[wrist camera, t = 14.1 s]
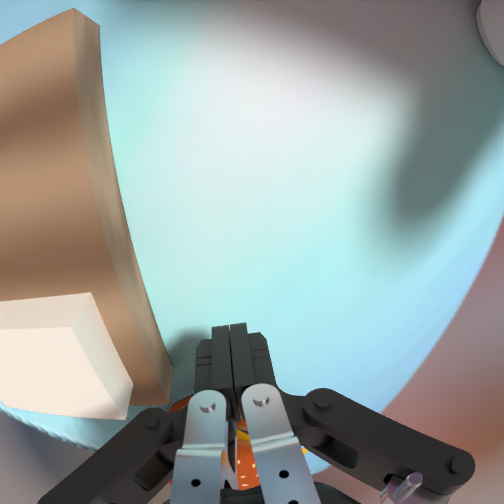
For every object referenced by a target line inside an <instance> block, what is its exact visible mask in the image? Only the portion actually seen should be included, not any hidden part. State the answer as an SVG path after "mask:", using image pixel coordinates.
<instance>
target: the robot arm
mask: <svg viewBox="0 0 504 504" xmlns="http://www.w3.org/2000/svg"><path fill="white" fill-rule="evenodd" d="M240 411H241V413H240ZM241 415H242V419H243V421H246V424H247V428H248V433H249V437H250V442H251V447H252V451H253V455H254V460H255V464H256V468H257V472H258V476H259V481H260V485H258V486H255V487H252V488H250V489H247V490H239V485H238V479H237V436H236V434H237V431H236V422H241ZM301 446H304V447H305V448H306V449H307V450H308V451H310V452H312V453H313V454H315V455H316V456H318V457H320V458H321V459H323V460H325V461H326V462H328V463H330V464H331V465H333V466H335V467H336V468H338V469H340V470H342V471H343V472H345V473H347V474H349V475H350V476H352V477H354V478H356V479H358V480H360V481H362V482H363V483H365V484H367V485H369V486H371V487H373V488H375V489H377V490H379V491H381V494H380V504H447V503H448V501H449V499H450V498H451V496H452V494H453V493H454V492H455V491H456V490H458V489H459V488H460V487H461V486H463V485H464V484H465V483H466V482H467V481H468V480H470V478H471V477H472V476H473V473H474V471H475V461H474V459H473V457H472V455H470V454H469V453H468V452H466V451H464V450H462V449H459V448H456V447H454V446H451V445H449V444H446V443H444V442H442V441H439V440H437V439H434V438H432V437H429V436H427V435H424V434H422V433H420V432H418V431H416V430H413V429H411V428H409V427H407V426H405V425H402V424H400V423H398V422H396V421H394V420H392V419H390V418H387V417H385V416H383V415H381V414H379V413H377V412H375V411H373V410H371V409H369V408H367V407H365V406H363V405H361V404H359V403H357V402H355V401H353V400H351V399H349V398H347V397H345V396H343V395H341V394H339V393H337V392H336V391H334V390H331V389H327V388H319V389H315V390H313V391H311V392H309V393H308V394H307V395H306V396H295V395H290V394H287V393H285V392H283V391H282V390H280V389H279V387H278V386H277V384H276V381H275V376H274V372H273V367H272V363H271V358H270V354H269V350H268V345H267V340H266V338H265V337H264V336H263V335H262V334H261V333H260V332H257V333H251V334H248V333H247V326H246V323H239V324H231V325H230V329H229V325H224V326H216V327H212V339H205V340H201V342H200V343H199V345H198V347H197V349H196V370H195V393H194V396H193V397H192V398H191V399H190V401H189V404H188V405H187V406H186V407H184V408H182V409H180V410H177V411H174V412H171V413H168V414H167V413H166V412H165V411H164V410H162V409H159V408H149V409H146V410H144V411H142V412H141V413H139V414H138V415H137V416H136V417H135V418H134V419H133V420H132V421H130V422H129V423H128V424H127V425H126V426H125V427H124V428H123V429H122V430H120V431H119V432H118V433H117V434H116V435H115V436H114V437H113V438H111V439H110V440H109V441H108V442H107V443H106V444H105V445H103V446H102V447H101V448H100V449H99V450H98V451H97V452H95V453H94V454H93V455H92V456H91V457H90V458H89V459H87V460H86V461H85V462H84V463H83V464H82V465H80V466H79V467H78V468H77V469H76V470H74V471H73V472H72V473H71V474H70V475H68V476H67V477H66V478H65V479H64V480H62V481H61V482H60V483H59V484H58V485H56V486H55V487H54V488H53V489H52V490H50V491H49V492H48V493H47V494H46V495H44V496H43V497H42V498H41V499H40V500H39V501H38V503H37V504H147V503H148V502H149V501H150V500H151V499H152V498H153V497H154V496H155V495H156V494H157V493H158V492H159V491H160V490H161V489H162V488H163V487H164V486H165V485H166V484H167V483H168V482H169V481H170V480H171V479H172V478H173V480H172V488H171V498H170V499H169V500H167V501H166V502H164V503H163V504H361V503H359V502H357V501H356V500H354V499H352V498H351V497H349V496H347V495H346V494H344V493H342V492H341V491H339V490H337V489H336V488H334V487H332V486H329V485H326V484H323V483H319V482H313V480H312V477H311V474H310V471H309V468H308V465H307V463H306V460H305V457H304V454H303V451H302V449H301Z"/></svg>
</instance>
